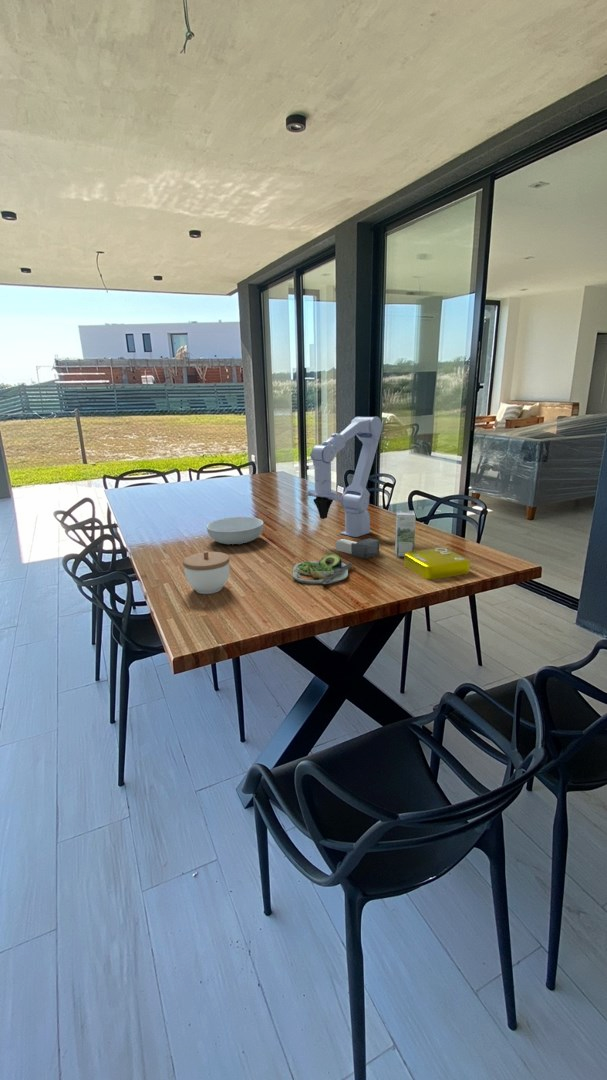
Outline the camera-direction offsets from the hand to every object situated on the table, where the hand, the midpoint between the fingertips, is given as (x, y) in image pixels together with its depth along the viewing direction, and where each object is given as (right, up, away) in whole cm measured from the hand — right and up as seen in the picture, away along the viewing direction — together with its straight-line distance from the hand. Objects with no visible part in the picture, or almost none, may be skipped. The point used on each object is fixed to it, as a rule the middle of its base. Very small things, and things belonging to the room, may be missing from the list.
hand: (323, 518), depth 174 cm
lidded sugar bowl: (-34, -22, -36) cm, 54 cm away
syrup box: (+26, -13, -12) cm, 32 cm away
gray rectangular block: (+9, -12, -8) cm, 17 cm away
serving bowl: (-32, -8, +9) cm, 34 cm away
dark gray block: (+13, -12, -11) cm, 21 cm away
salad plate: (-2, -18, -27) cm, 33 cm away
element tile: (+33, -17, -25) cm, 45 cm away
